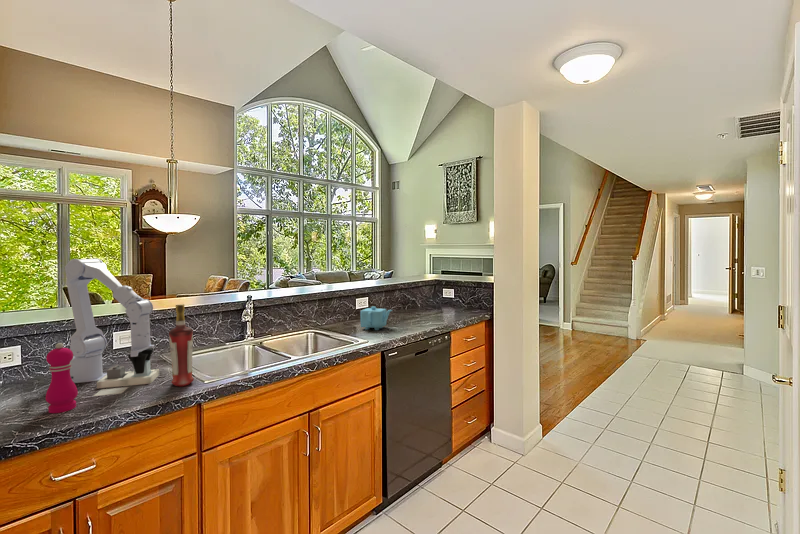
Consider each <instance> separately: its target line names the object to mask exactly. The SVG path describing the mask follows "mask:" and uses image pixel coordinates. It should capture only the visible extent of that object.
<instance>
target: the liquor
mask: <svg viewBox="0 0 800 534" xmlns="http://www.w3.org/2000/svg"><path fill="white" fill-rule="evenodd" d="M185 309H186V308H185V304H183V303H181V304H180V303H179V304H175V312H176V319H175V327H173V328H172V329H171V330H169V332H168V337H169V338H168V339H169V341H168V342H169V350H170V351H169V352H170V358H171V359H170V361H171V372H172V373H171V375H172V381H171V382H170V383H171V384H172V385H174V386H175V387H178V388H182V387H186V386H189V385H190V384H192V382H193V381H194V380H195V378H194V377H193V350H194V349H193V345H194V343H193V341H194V340H193V339H194V335H193V333H194V330H193V329H192V328H191V327H189V326H186V325H187V324H186V320H185Z"/></svg>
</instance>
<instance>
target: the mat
mask: <svg viewBox="0 0 800 534" xmlns="http://www.w3.org/2000/svg"><path fill="white" fill-rule="evenodd" d="M128 388H129V386H123V387H115V388H114V387H112V388H106V389H105V388H102V389H100V390H99V391H98V392H97V393H95V394H93V397H99V396H107V395H108V396H109V395H117V394H118V395H119V394H120V395H121V394H123V393H124V392H125V391H126V390H127V389H128Z"/></svg>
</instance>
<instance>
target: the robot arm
mask: <svg viewBox="0 0 800 534" xmlns="http://www.w3.org/2000/svg"><path fill="white" fill-rule="evenodd" d="M64 270H65V275H66V287H67V292H68V296H69V301H70V306H71V309H72V310H71V311H72V315H73V319H74V324H75V325H74V326H75V329H76V331H75V332H74V333H73V334H72V335H71V336H70V337H69V339H70V345H69V349H70V350H71V351H72V352H73V359H72V360H71V361H70V363H72V364H71V366H72V367H71V368H70V376H71V379H72V381H73V382H74V384H76V383H88V382H98V381H99V380H100V379H102V378H103V377H105V376H106V375H107V372H103V353H104V350H105V349H106V348H107V345H108V340H107V338H106V337H105V335H104V332H103V330H102V329H100V328H98V327H96V322H95V317H94V314H93V313H94V312H93V309H92V303H91V299H90V294H89V289H88V285H89V284H90V282H91V281H93V280H95V279H96V280H98V281H99V282H100V283H101V284H103V285H104V286H105V287H106V288H108V289H109V290H110V291H112V292H113V293H112V297H113V298H114V299H115V300H116V301H117V302H118V303H119V304H120V305H122V307H124V308H125V310H124V311H125V314H126V316H127V317H128V321H129V323H130V341H131V342H130V345H131V347H130V352H129V353H130V354H128V359H129V360H130V362H131V363H132V365H133V370H134V369H135V372H136V374H141V373H143V372H144V367H145V361H146V360H150V361H151V357H152V354H153V352H154V348H155V344H152V341H151V327H150V326H151V323H150V322H151V321H150V315H151V314H152V313H153V310H154V305H153V303H152V302H151V301H150V299H147V298H143V297H141V296H140V295H138V294H137V293H136V292H135V291H134V289H133V287H131V286H129V285H122V283H121V282H120V281H119V280H118V279H117V277H115V276H114V275H113V274H112V273H111V271H109V269H107V263H105V262H103V260H102V259H101V258H96V257H93V258H80V259H79V258H72V259H70V260H69V261H68V262H67V263H66V265H65V266H64Z"/></svg>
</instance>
